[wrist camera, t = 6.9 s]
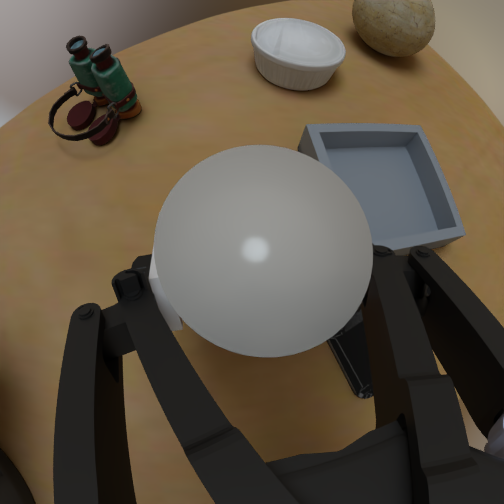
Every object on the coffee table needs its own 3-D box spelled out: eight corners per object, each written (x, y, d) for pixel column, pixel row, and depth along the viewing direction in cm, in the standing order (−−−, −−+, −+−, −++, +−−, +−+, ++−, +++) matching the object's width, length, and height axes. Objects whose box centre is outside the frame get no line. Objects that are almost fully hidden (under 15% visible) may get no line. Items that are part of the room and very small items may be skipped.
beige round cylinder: (201, 353, 20) (172, 376, 8) (184, 253, 21) (147, 159, 10) (302, 334, 21) (394, 326, 9) (281, 237, 22) (338, 139, 11)
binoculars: (12, 90, 19) (82, 23, 21) (57, 138, 30) (111, 81, 31) (47, 117, 19) (132, 37, 20) (97, 170, 29) (158, 104, 31)
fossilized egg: (334, 20, 39) (357, -48, 25) (398, 36, 40) (428, -22, 26) (353, 63, 36) (387, -19, 21) (424, 80, 37) (467, 16, 22)
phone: (323, 329, 25) (438, 253, 28) (319, 329, 26) (432, 256, 29) (362, 404, 23) (468, 317, 26) (357, 402, 24) (461, 318, 27)
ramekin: (235, 52, 34) (237, 21, 29) (307, 42, 36) (315, 15, 31) (271, 105, 32) (278, 72, 27) (349, 91, 34) (363, 63, 29)
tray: (332, 270, 27) (348, 259, 23) (297, 148, 30) (306, 124, 26) (443, 246, 29) (465, 234, 25) (404, 144, 32) (420, 125, 28)
